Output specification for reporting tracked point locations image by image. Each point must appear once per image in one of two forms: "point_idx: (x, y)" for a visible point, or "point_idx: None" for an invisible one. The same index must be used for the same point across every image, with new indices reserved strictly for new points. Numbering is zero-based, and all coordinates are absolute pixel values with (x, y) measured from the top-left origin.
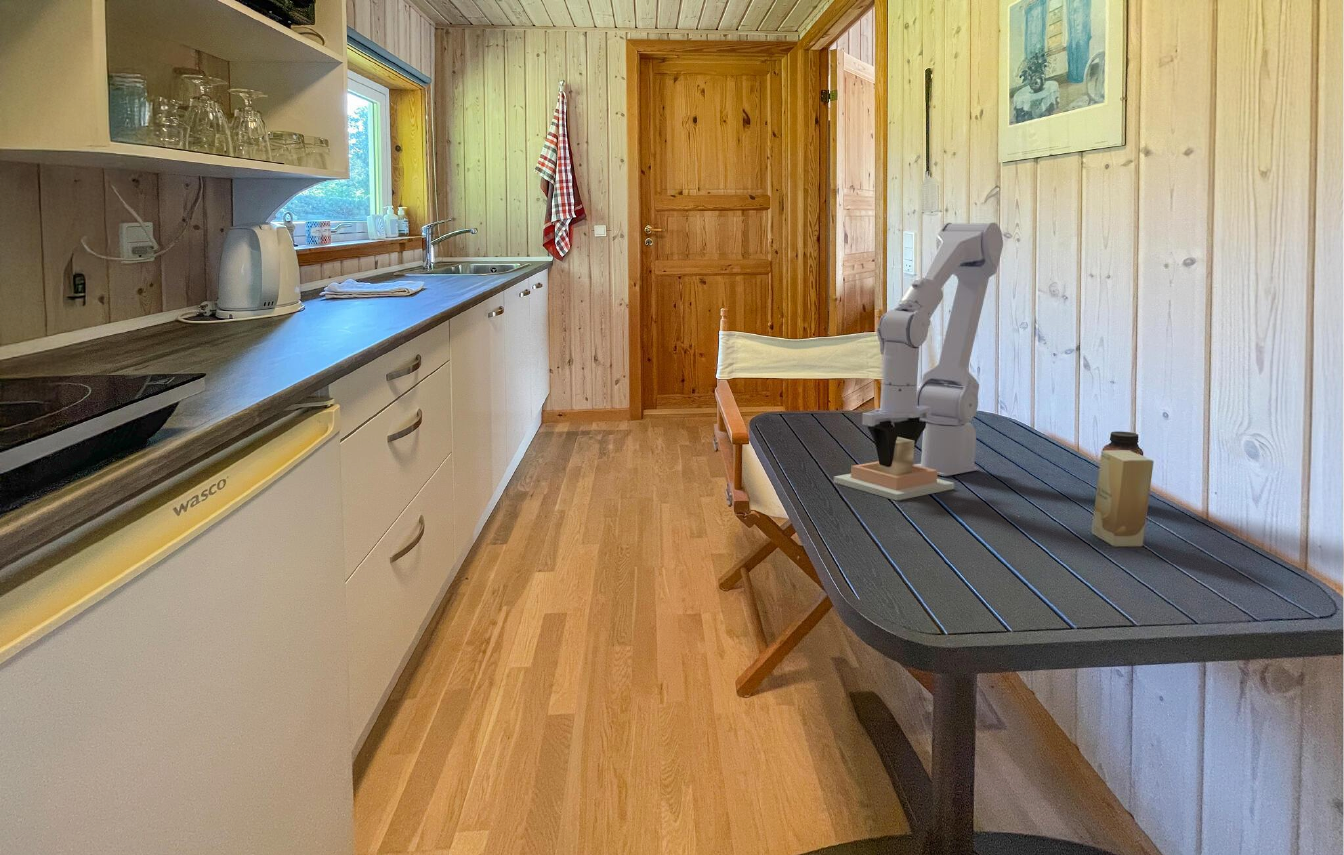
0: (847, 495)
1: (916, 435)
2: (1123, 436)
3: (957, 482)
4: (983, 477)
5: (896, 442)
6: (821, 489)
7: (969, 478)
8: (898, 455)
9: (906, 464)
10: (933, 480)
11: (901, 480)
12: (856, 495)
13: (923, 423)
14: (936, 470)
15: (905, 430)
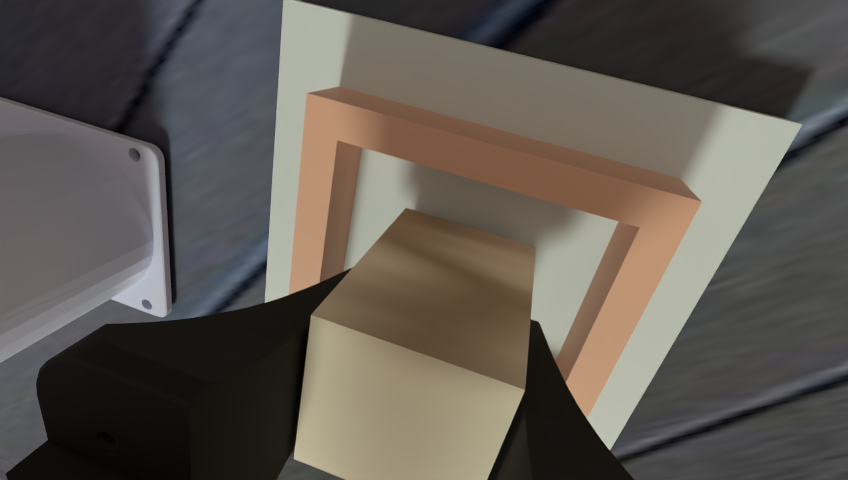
0: (806, 359)
1: (253, 335)
2: None
3: (184, 57)
4: (20, 9)
5: (502, 407)
6: (749, 472)
7: (85, 51)
8: (516, 317)
9: (442, 252)
10: (362, 94)
11: (644, 180)
12: (778, 327)
13: (109, 369)
14: (315, 96)
15: (255, 449)
